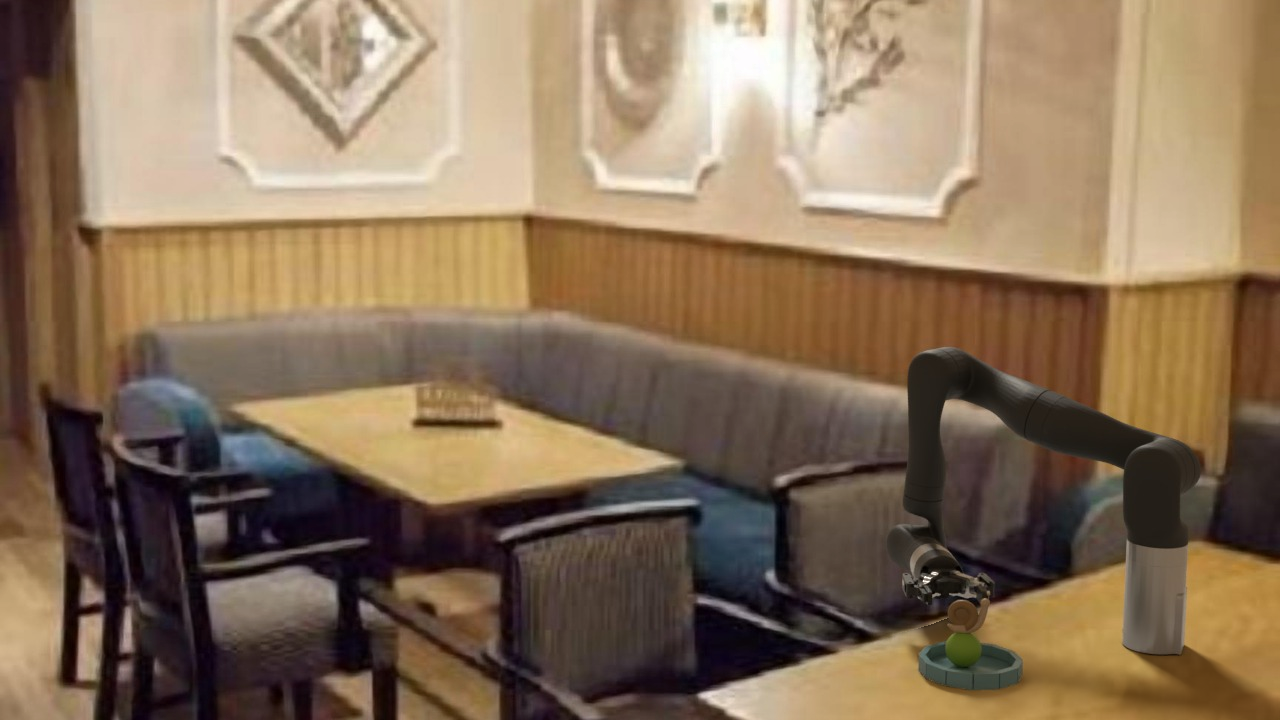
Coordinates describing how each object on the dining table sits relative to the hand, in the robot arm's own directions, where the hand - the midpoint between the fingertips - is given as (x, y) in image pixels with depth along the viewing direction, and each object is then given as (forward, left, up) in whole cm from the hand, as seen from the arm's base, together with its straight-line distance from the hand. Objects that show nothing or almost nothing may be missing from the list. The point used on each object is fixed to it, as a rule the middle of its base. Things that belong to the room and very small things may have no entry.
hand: (957, 599), depth 240 cm
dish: (-4, +9, -8) cm, 13 cm away
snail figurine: (-4, +9, -8) cm, 12 cm away
